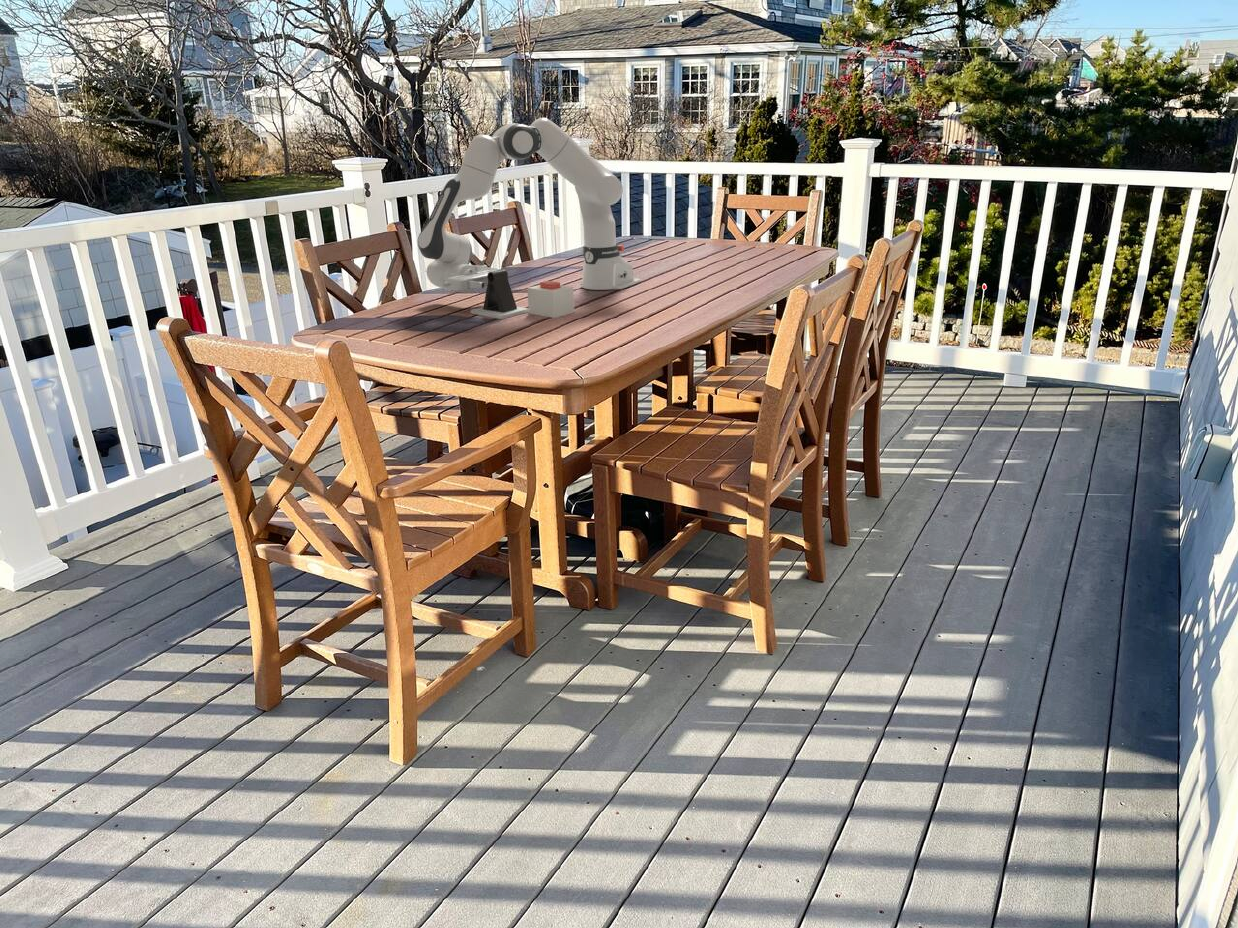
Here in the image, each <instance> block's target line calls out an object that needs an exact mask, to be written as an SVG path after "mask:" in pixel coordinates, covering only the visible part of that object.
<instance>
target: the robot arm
mask: <svg viewBox="0 0 1238 928" xmlns="http://www.w3.org/2000/svg"><path fill="white" fill-rule="evenodd" d="M535 153H537V154H538V155H539V156H540V157H541V158H542V159H543V160H545V162H547V163H548V164H549V165H550V167H552V169H554V170H555V171H556V172H557V173H558V174H559V175H560V176H561V177H562V178H564V179H565V180H566V181H567V182H569V183H571V184H572V185H573V186H574V190H575V192H576V195H577V199H578V204H579V209H580V214H581V218H582V223H583V224H582V226H583V242H584V243H583V247H582V248H583V249H582V254H583V258H584V261H583V266H582V279H581V281H580V284H581V288H583V289H587V290H595V291H597V290H598V291H599V290H600V291H601V290H603V291H604V290H623V289H625V288H628V287H632V286H633V285H636V284H639V283H640V282H641V279H640V278H637V277H635V276H634V275H635V274H634V269H633V266H632V264H631V263H629V262H628V261H627V260H626V259H625V258H623V257H622V256H621V253H620V252H624V251H625V247H624V245H622V244H621V245H620V244H618V245H617V237H616V235H617V234H616V233H617V231H616V219H615V218H614V215H613V212H612V207H611V206H613V205H615V204H616V203H617V202H619V201H620V199H621V198H622V195H623V192H624V189H623V188H624V187H623V184H622V182H621V180H620V179H619V178H618V177H617V176H616V175H614V174H613V173H612V172H611V171H610V170H609V169H608V168H606V167H605V166H604V165H603V164H602V163H600V162H599V161H598V160H596V158H594V157H593V156H591V154H589V153H588V152H587V151H585V150H584V149H583V148H582V147H581V146H580V145H579V144H578V143H577V142H576V141H575V140H574V139H573V138H572V137H571V136H570V135H569V134H568V133H567V132H566V131H564V129H562V128H561V127H560V126H559V125H558V124H556V123H554V122H553V121H552V120H550V119H549V118H548V117H547V118H546V117H540V118H537V119H535V120H534V121H533V122H532V123H531V124H530V125H526V124H523V123H521V124H520V123H513V122H512V123H507V124H506V123H505V124H502V125H500V126H499V127H497V128H496V129H495V130H494V131H493V132H492V133H491V134H489V135H487V134H478V135H475V136H474V137H473V139H471V141H470V143H469V145H468V148H467V149H466V152H465V154H464V157H463V160H462V163H461V165H460V168H459V170H458V171H457V173H456V175H455V176H454V177H453V178H452V179H449V180H448V181H447V182H446V184H445V185H444V187H443V189H442V190H441V193H440V195H439V197H438V199H437V201H436V203H435V205H434V207H433V209H432V212H431V214H430V216H429V218H428V220H427V222H426V224H425V225H424V227H423V228H422V230H421V231H420V233H419V235H418V237H417V246H418V250H419V253H421V255H422V256H423V257H424V258H425V259H429V260H433V261H431V262H430V263H429V264H428V265H427V268H426V277H427V280H429V282H430V283H431V284H433V286H435V287H437V288H441V289H445V290H451V291H454V292H459V293H461V292H462V293H465V294H467V293H472V292H474V290H478V289H483V288H485V287H487V285H488V278H487V275H488V273H489V272H494V271H498V270H501V269H500V268H495V267H490V266H489V267H488V265H487V264H476V265H474V264H470V263H471V261H472V256H473V249H472V243H471V242H470V239H468V238H467V236H463V235H461V234H458V233H453V232H450V231H448V230H445V229H446V226H447V224H448V222H449V220H450V218H451V216H452V214H453V211H454V209H455V208H456V206H457V205H459V203H461V202H464V201H469V200H470V201H471V200H478V199H480V198H483V197H485V196H487V194H489V193H490V191H491V189H492V187H493V184H494V181H495V178H496V174H497V171H498V167H499V165H500V164H501V162H502V161H503V160H505V159H506V160H508V159H509V160H511V161H516V160H519V161H523V160H525V159H528V158H529V157H531V156H532V155H533V154H535Z"/></svg>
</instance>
